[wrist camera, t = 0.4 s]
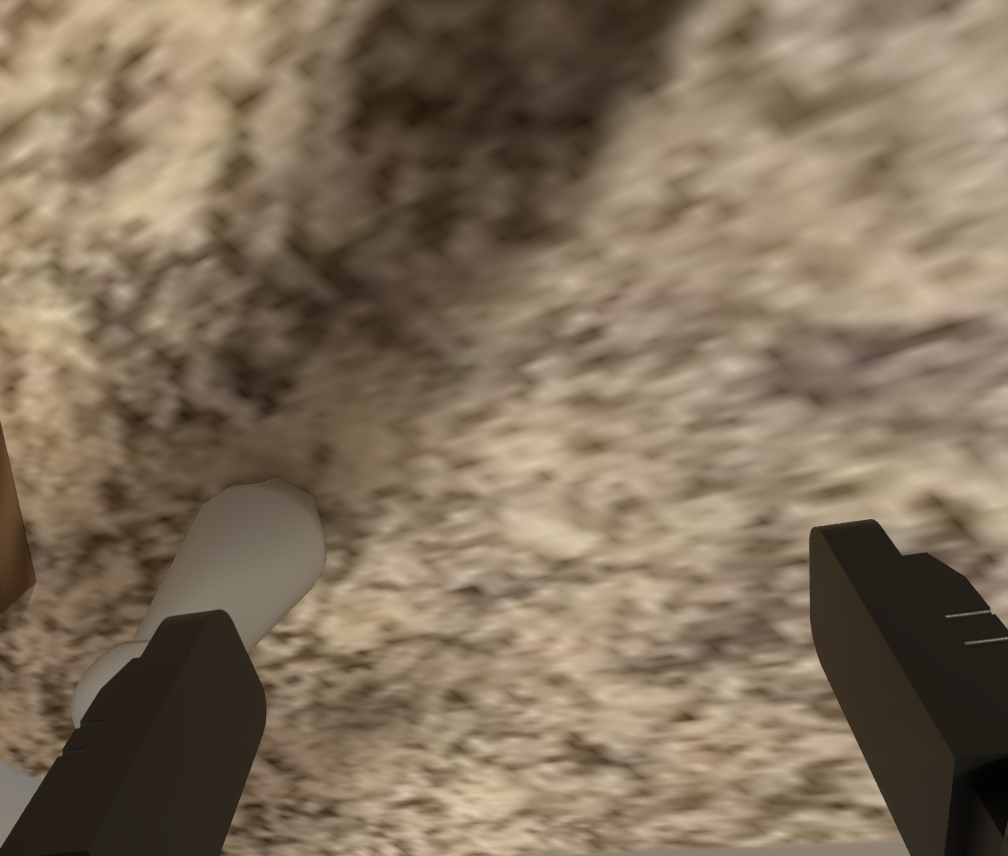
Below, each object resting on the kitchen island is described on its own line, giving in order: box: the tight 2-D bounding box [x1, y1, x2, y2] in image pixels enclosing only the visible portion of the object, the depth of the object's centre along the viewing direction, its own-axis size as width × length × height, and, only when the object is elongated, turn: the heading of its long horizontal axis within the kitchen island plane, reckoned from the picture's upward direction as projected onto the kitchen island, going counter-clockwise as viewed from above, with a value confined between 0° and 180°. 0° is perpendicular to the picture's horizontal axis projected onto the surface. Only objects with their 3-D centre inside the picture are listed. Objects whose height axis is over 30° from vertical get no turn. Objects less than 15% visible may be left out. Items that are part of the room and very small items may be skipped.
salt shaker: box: [69, 477, 326, 729], centre depth 30 cm, size 6×6×13 cm
